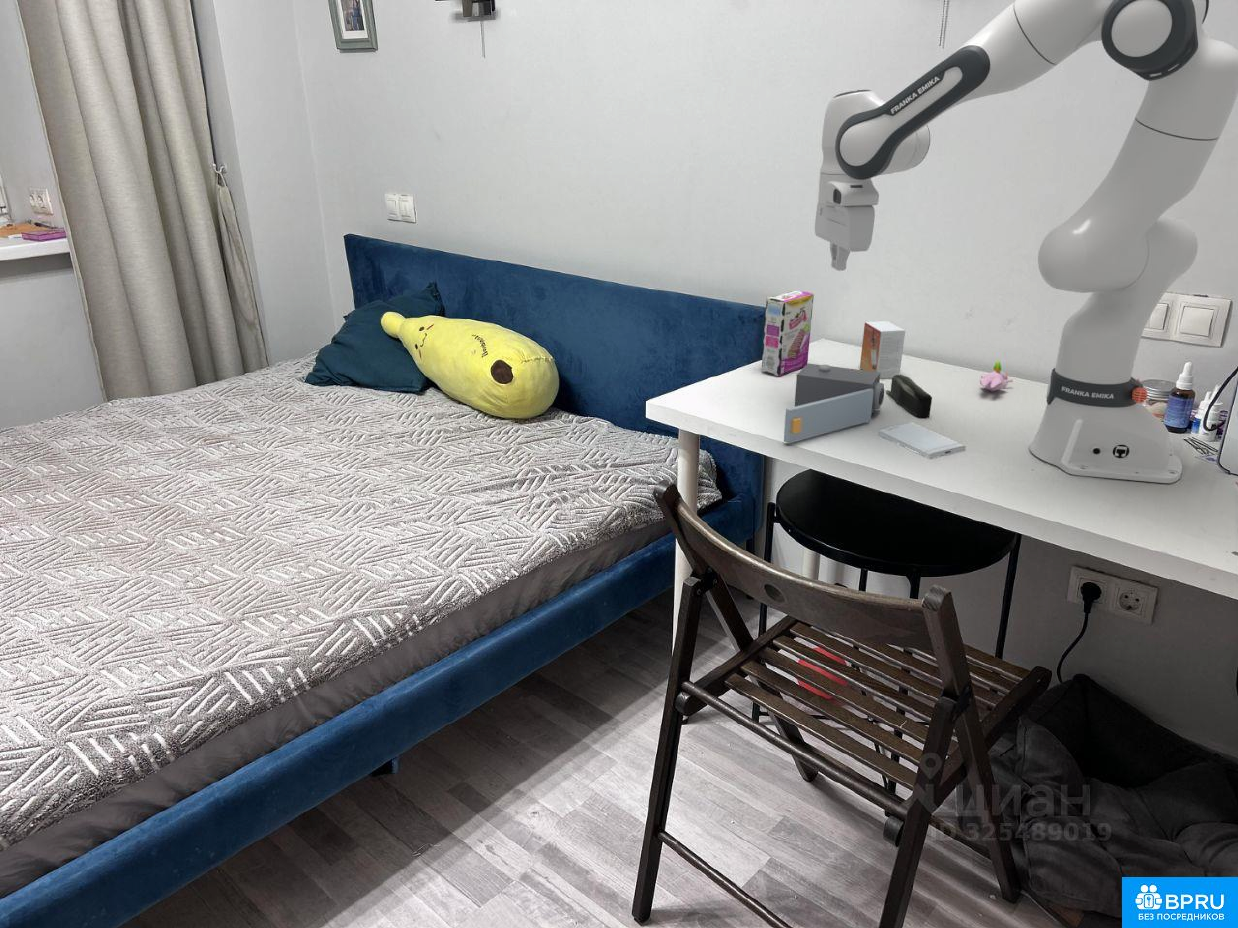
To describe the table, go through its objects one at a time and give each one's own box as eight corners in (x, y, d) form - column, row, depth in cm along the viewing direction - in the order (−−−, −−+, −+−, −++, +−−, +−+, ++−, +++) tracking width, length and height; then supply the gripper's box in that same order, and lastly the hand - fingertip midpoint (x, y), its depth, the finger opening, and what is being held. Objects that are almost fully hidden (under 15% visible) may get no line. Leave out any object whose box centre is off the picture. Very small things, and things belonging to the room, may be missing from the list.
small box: (859, 368, 197) (863, 321, 193) (883, 367, 198) (888, 320, 194) (875, 379, 190) (880, 331, 185) (900, 378, 190) (905, 329, 186)
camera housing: (884, 408, 173) (889, 369, 170) (875, 421, 167) (880, 381, 164) (805, 397, 180) (808, 359, 177) (794, 409, 173) (797, 370, 170)
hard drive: (878, 429, 160) (930, 452, 150) (913, 421, 164) (966, 444, 153) (877, 438, 161) (929, 462, 151) (912, 430, 164) (964, 453, 154)
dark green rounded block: (935, 395, 166) (899, 369, 180) (920, 396, 166) (885, 369, 179) (932, 420, 169) (896, 392, 182) (917, 421, 168) (882, 393, 181)
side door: (866, 419, 166) (869, 388, 164) (872, 421, 165) (876, 390, 163) (783, 441, 157) (785, 408, 154) (789, 444, 156) (792, 411, 153)
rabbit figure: (982, 384, 191) (969, 393, 178) (987, 356, 189) (974, 363, 176) (1014, 389, 188) (1003, 398, 175) (1019, 360, 186) (1008, 367, 173)
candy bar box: (779, 378, 191) (784, 301, 185) (760, 373, 194) (764, 297, 188) (809, 366, 199) (815, 292, 192) (790, 362, 202) (795, 289, 195)
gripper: (809, 185, 168) (804, 260, 173) (846, 196, 149) (840, 280, 154) (841, 184, 168) (836, 259, 174) (883, 195, 150) (875, 279, 155)
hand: (838, 269), depth 164 cm, fingers closed
